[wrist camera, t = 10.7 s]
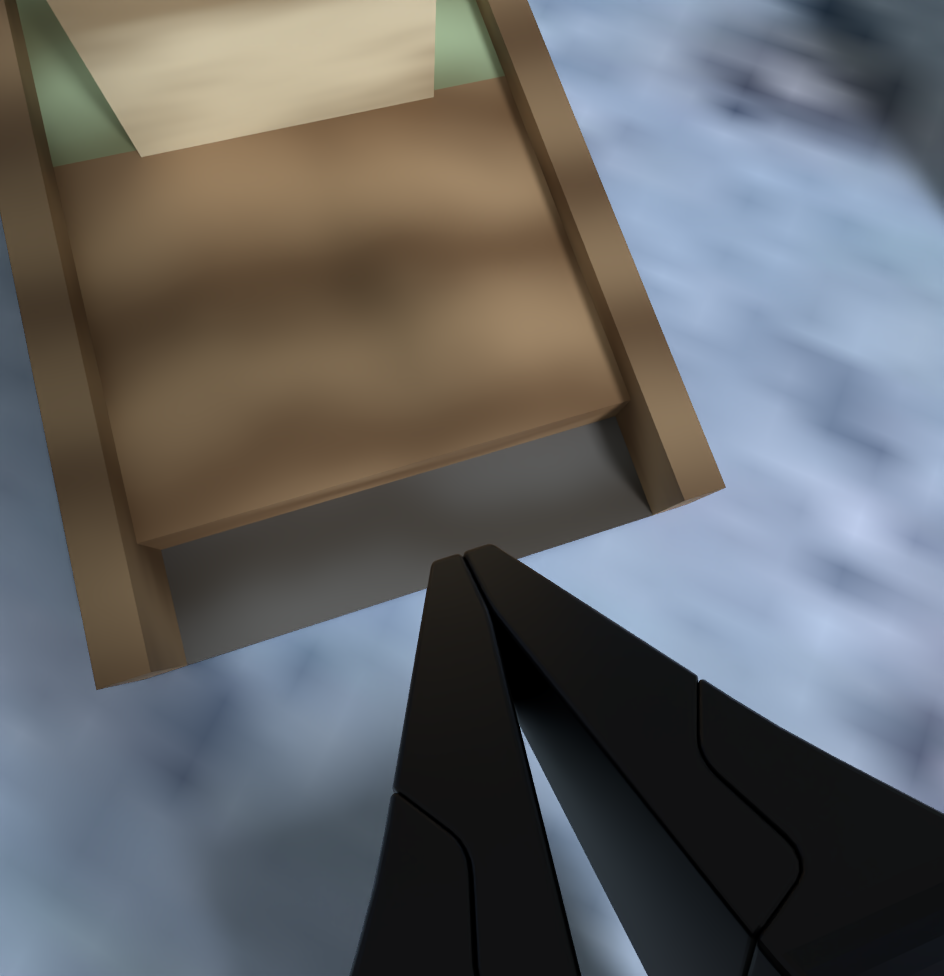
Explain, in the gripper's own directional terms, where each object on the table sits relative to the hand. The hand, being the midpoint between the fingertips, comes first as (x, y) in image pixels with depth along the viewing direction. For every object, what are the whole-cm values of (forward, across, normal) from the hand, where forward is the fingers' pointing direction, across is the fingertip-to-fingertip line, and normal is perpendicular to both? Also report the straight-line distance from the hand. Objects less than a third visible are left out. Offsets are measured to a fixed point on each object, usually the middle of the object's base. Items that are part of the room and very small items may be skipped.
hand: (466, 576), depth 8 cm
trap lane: (+23, 0, -4) cm, 23 cm away
